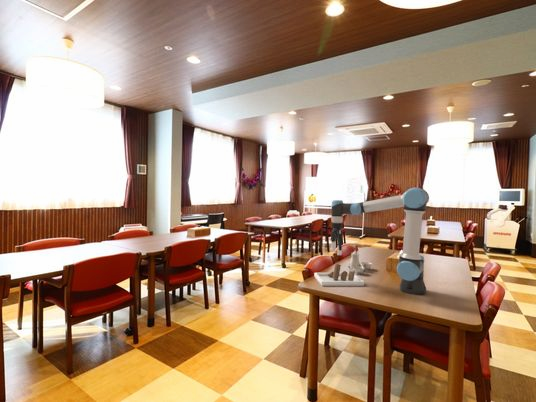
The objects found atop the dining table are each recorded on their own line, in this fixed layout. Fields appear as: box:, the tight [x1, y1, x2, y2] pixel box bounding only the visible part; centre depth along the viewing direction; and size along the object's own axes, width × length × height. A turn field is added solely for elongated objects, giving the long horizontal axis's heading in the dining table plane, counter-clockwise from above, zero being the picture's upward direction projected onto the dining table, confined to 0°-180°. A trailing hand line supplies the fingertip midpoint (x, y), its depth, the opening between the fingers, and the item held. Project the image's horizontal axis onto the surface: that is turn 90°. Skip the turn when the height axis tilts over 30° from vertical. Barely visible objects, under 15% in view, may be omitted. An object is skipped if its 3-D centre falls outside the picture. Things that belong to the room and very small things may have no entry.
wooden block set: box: [328, 263, 356, 281], centre depth 189 cm, size 18×9×10 cm, turn 57°
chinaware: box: [347, 249, 373, 276], centre depth 216 cm, size 28×17×17 cm, turn 146°
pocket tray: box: [313, 272, 365, 287], centre depth 188 cm, size 20×28×3 cm
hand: (336, 252), depth 189 cm, fingers open, 13 cm apart
